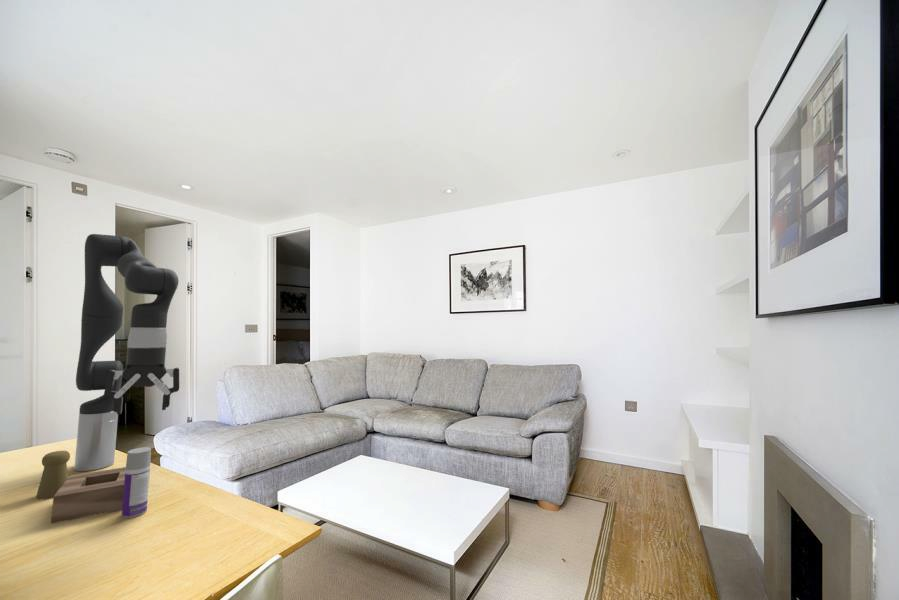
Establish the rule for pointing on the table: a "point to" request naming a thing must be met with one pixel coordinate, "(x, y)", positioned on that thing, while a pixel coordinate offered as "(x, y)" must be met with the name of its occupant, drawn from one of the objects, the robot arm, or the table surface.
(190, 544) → the table surface
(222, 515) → the table surface
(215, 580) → the table surface
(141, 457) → the container
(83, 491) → the well block
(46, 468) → the cork
